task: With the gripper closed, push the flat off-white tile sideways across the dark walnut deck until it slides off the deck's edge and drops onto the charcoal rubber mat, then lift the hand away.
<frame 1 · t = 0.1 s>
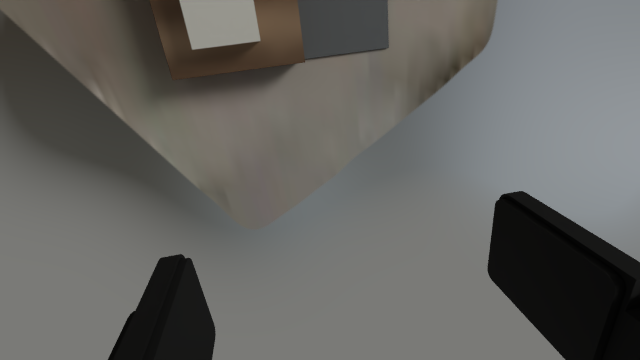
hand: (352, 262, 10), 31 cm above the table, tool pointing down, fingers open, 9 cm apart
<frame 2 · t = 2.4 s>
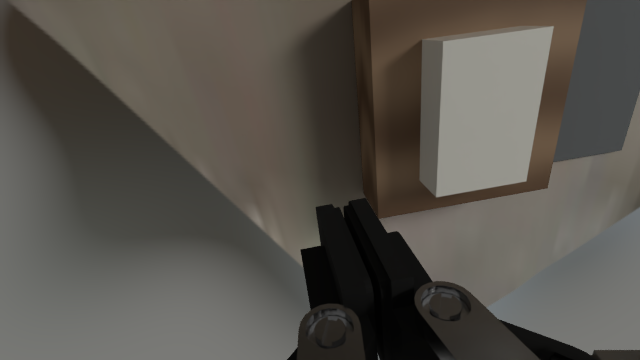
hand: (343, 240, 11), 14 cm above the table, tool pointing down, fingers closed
deck: (443, 96, 25), on the table
tile: (465, 109, 21), point 4 cm above the table, touching deck
mat: (584, 74, 26), on the table
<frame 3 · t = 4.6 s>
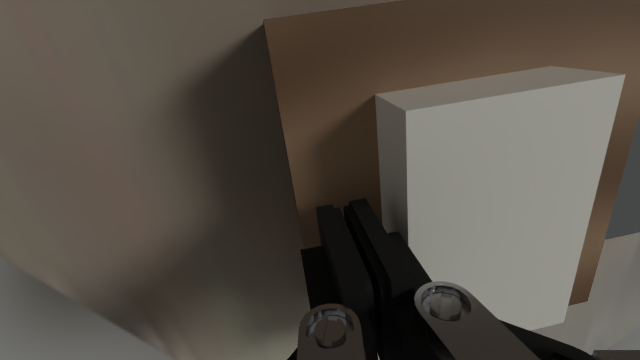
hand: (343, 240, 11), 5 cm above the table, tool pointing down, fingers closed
deck: (424, 162, 16), on the table
tile: (458, 201, 13), point 4 cm above the table, touching gripper
mat: (635, 123, 17), on the table
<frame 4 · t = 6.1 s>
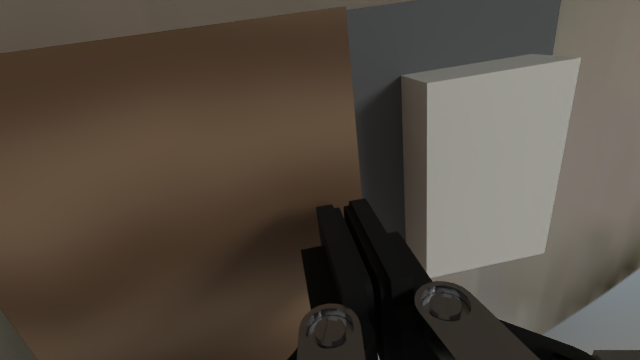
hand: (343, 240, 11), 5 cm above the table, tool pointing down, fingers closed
deck: (203, 201, 15), on the table
tile: (494, 181, 14), point 3 cm above the table, tilted 180°, touching mat
mat: (440, 158, 16), on the table
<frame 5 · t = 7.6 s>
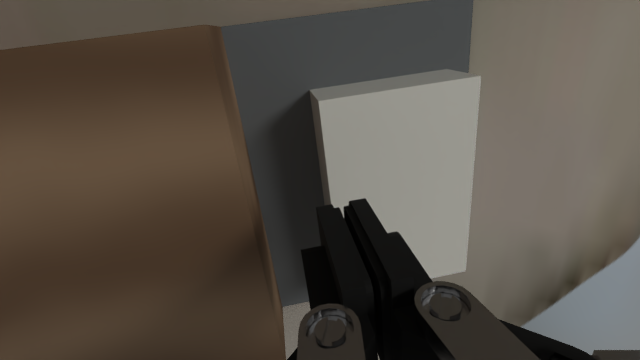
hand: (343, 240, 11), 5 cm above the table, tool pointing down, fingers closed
deck: (113, 215, 15), on the table
tile: (403, 199, 14), point 3 cm above the table, tilted 180°, touching mat
mat: (361, 172, 16), on the table
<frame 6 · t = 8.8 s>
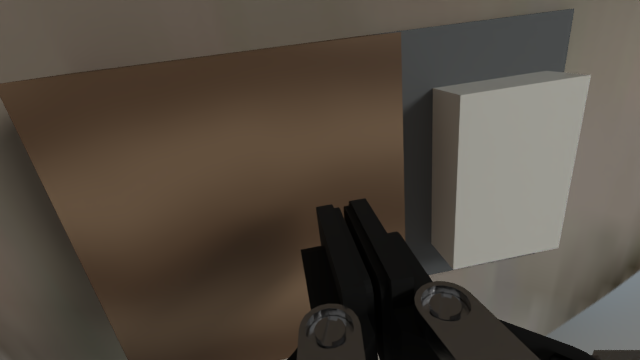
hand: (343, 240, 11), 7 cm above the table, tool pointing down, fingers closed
deck: (254, 197, 17), on the table
tile: (515, 181, 16), point 3 cm above the table, tilted 180°, touching mat
mat: (463, 161, 18), on the table
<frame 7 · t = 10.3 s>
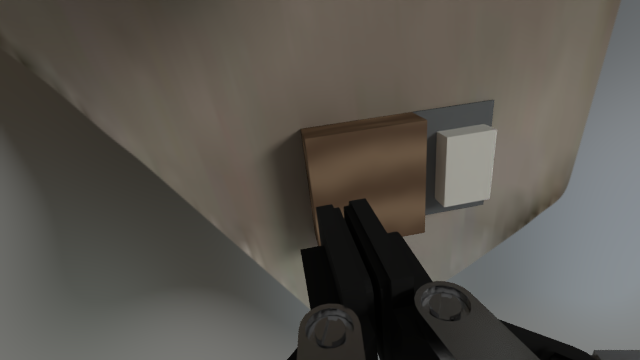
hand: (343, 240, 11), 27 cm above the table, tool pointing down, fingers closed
deck: (360, 176, 41), on the table
tile: (469, 169, 39), point 3 cm above the table, tilted 180°, touching mat
mat: (449, 161, 42), on the table
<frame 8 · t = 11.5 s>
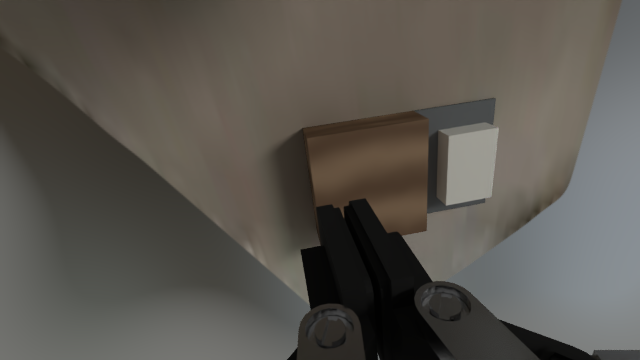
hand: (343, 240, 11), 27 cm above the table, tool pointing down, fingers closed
deck: (362, 175, 41), on the table
tile: (471, 168, 39), point 3 cm above the table, tilted 180°, touching mat
mat: (451, 159, 42), on the table
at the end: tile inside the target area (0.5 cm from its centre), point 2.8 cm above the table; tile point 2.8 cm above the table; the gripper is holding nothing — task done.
